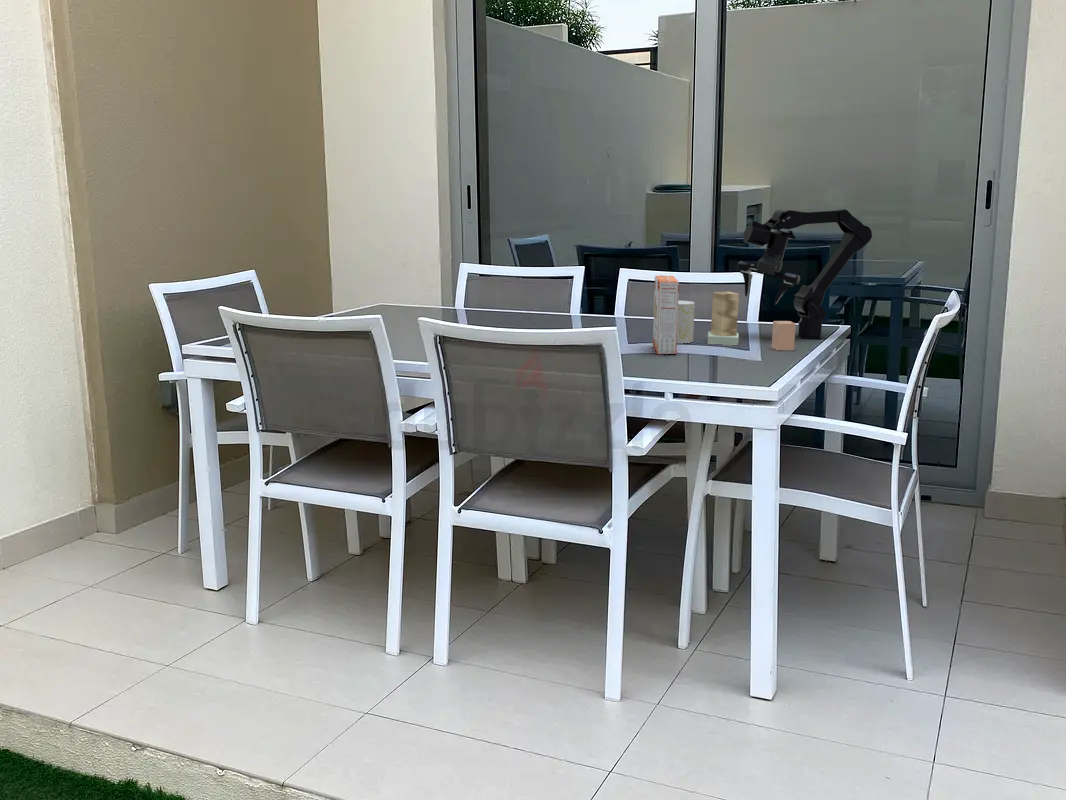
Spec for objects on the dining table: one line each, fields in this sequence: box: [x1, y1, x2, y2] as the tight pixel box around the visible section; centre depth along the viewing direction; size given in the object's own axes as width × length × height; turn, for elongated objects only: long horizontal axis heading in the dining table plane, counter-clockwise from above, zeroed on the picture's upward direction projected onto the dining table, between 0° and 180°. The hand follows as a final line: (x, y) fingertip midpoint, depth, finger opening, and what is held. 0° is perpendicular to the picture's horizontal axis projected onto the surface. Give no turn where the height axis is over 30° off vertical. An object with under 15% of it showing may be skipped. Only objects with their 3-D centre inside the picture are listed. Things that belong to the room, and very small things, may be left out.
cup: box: [677, 300, 696, 343], centre depth 310 cm, size 8×8×12 cm
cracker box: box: [652, 275, 680, 356], centre depth 294 cm, size 14×6×21 cm, turn 178°
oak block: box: [710, 291, 740, 336], centre depth 309 cm, size 6×6×12 cm
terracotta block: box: [771, 320, 796, 351], centre depth 300 cm, size 5×5×8 cm
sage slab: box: [707, 331, 740, 346], centre depth 311 cm, size 9×9×3 cm
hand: (760, 300), depth 316 cm, fingers open, 9 cm apart
